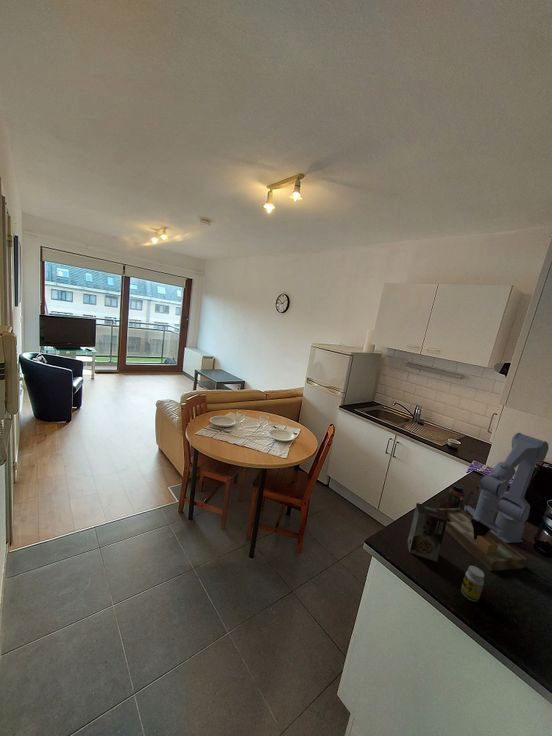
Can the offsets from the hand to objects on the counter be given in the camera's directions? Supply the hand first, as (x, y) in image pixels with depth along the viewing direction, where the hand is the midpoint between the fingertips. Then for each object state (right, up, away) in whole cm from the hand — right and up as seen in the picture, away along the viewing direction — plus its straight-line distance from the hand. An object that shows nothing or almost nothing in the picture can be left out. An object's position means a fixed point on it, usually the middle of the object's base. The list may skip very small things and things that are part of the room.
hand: (477, 539), depth 109 cm
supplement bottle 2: (-17, -4, -21) cm, 28 cm away
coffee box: (-24, -1, -6) cm, 25 cm away
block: (+1, -2, -3) cm, 4 cm away
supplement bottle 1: (+7, -1, +26) cm, 27 cm away
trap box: (+2, -3, +5) cm, 6 cm away
